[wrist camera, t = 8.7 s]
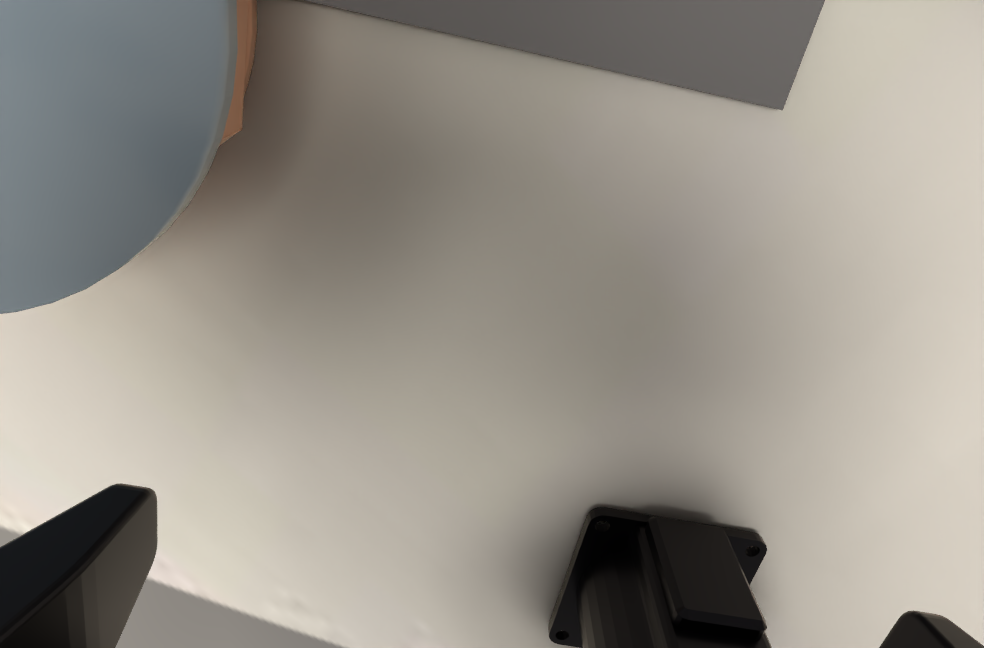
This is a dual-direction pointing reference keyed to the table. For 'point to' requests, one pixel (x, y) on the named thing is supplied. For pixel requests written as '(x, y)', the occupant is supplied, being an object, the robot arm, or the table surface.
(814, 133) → the table surface
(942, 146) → the table surface
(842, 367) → the table surface
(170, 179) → the lid
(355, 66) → the table surface
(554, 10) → the mat
